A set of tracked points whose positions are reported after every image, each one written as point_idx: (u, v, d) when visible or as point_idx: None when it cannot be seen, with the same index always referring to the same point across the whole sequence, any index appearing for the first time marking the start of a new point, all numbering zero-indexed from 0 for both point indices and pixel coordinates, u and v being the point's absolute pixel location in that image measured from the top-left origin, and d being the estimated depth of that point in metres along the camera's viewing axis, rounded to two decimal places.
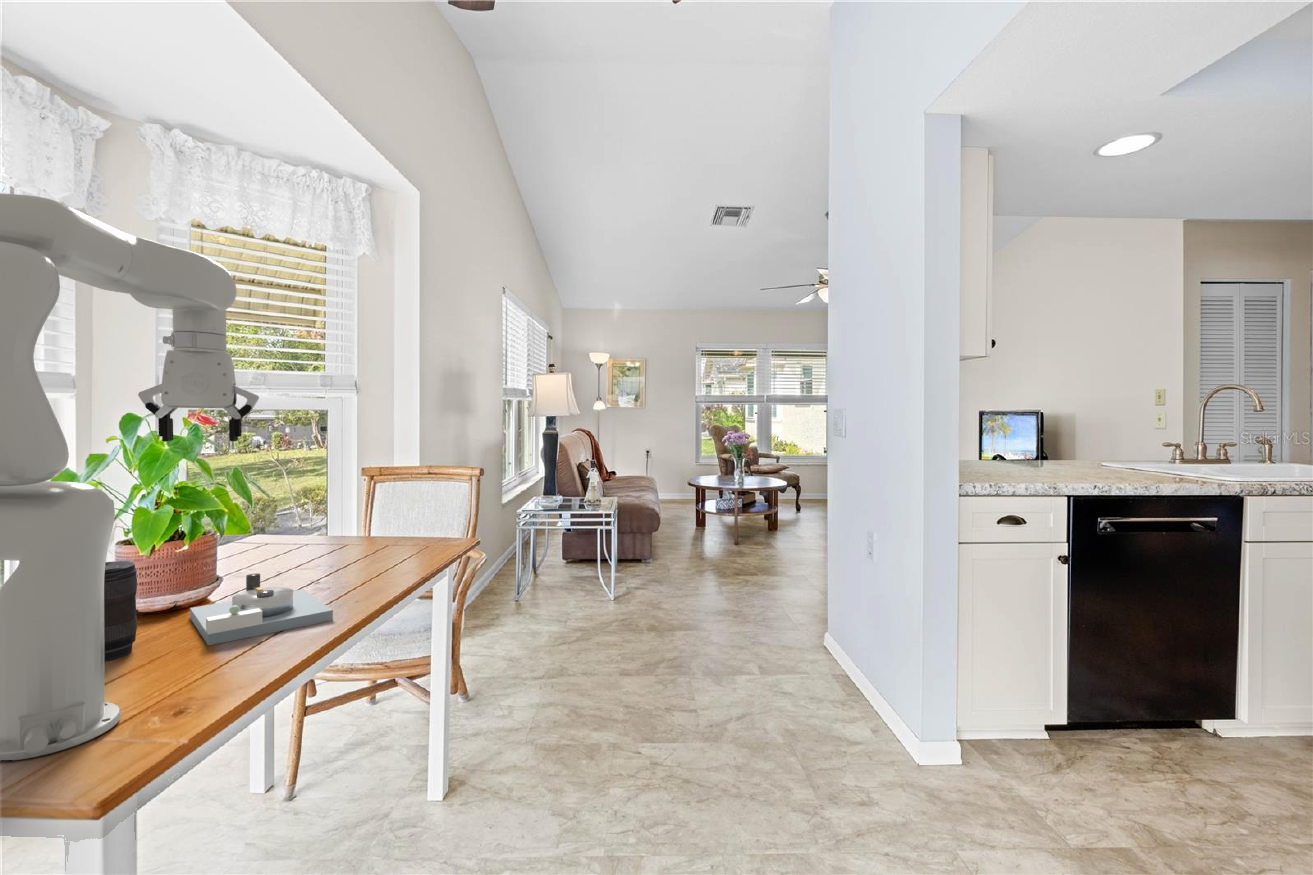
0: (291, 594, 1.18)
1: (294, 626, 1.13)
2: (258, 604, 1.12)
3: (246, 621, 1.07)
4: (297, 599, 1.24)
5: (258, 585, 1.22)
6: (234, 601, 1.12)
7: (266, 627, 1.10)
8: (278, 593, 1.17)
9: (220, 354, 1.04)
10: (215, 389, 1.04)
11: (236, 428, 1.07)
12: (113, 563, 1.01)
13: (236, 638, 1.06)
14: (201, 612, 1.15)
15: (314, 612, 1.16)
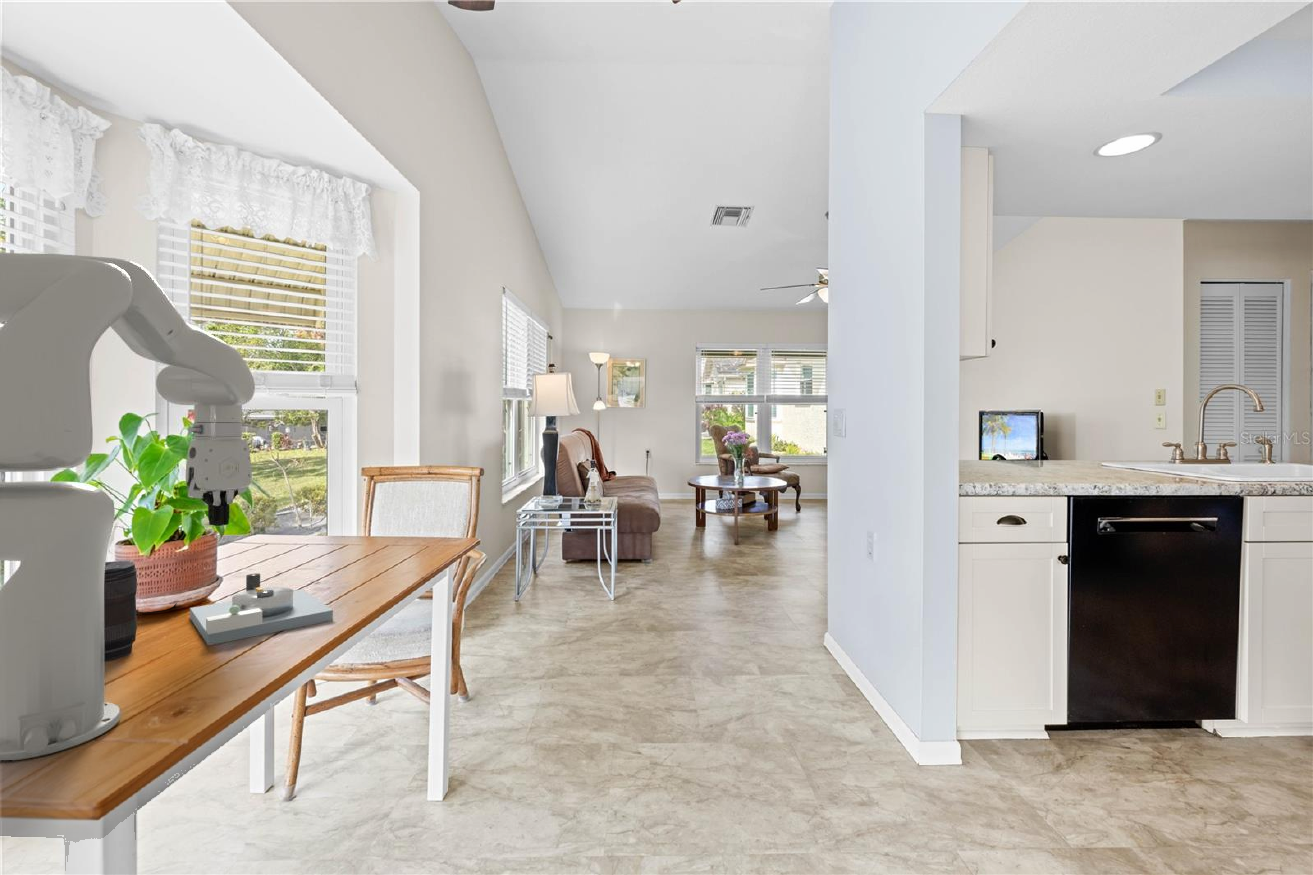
0: (291, 594, 1.18)
1: (294, 626, 1.13)
2: (258, 604, 1.12)
3: (246, 621, 1.07)
4: (297, 599, 1.24)
5: (258, 585, 1.22)
6: (234, 601, 1.12)
7: (266, 627, 1.10)
8: (278, 593, 1.17)
9: (244, 440, 1.18)
10: (242, 471, 1.18)
11: None
12: (113, 563, 1.01)
13: (236, 638, 1.06)
14: (201, 612, 1.15)
15: (314, 612, 1.16)
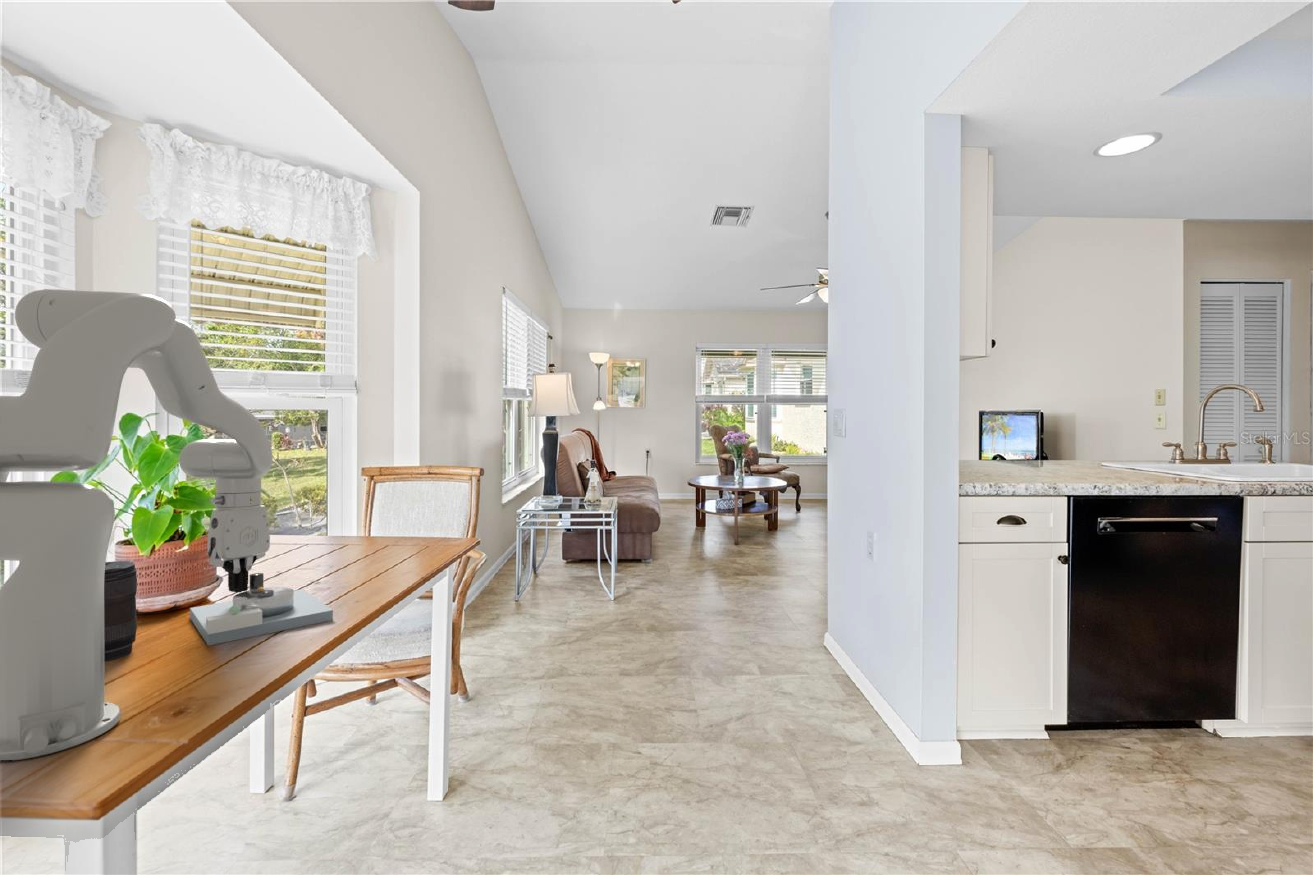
0: (291, 594, 1.17)
1: (294, 626, 1.13)
2: (257, 604, 1.12)
3: (246, 621, 1.07)
4: (297, 599, 1.24)
5: (261, 585, 1.23)
6: (234, 601, 1.13)
7: (266, 627, 1.10)
8: (278, 593, 1.17)
9: (263, 507, 1.22)
10: (261, 538, 1.22)
11: None
12: (113, 563, 1.01)
13: (236, 638, 1.06)
14: (201, 612, 1.15)
15: (314, 612, 1.16)
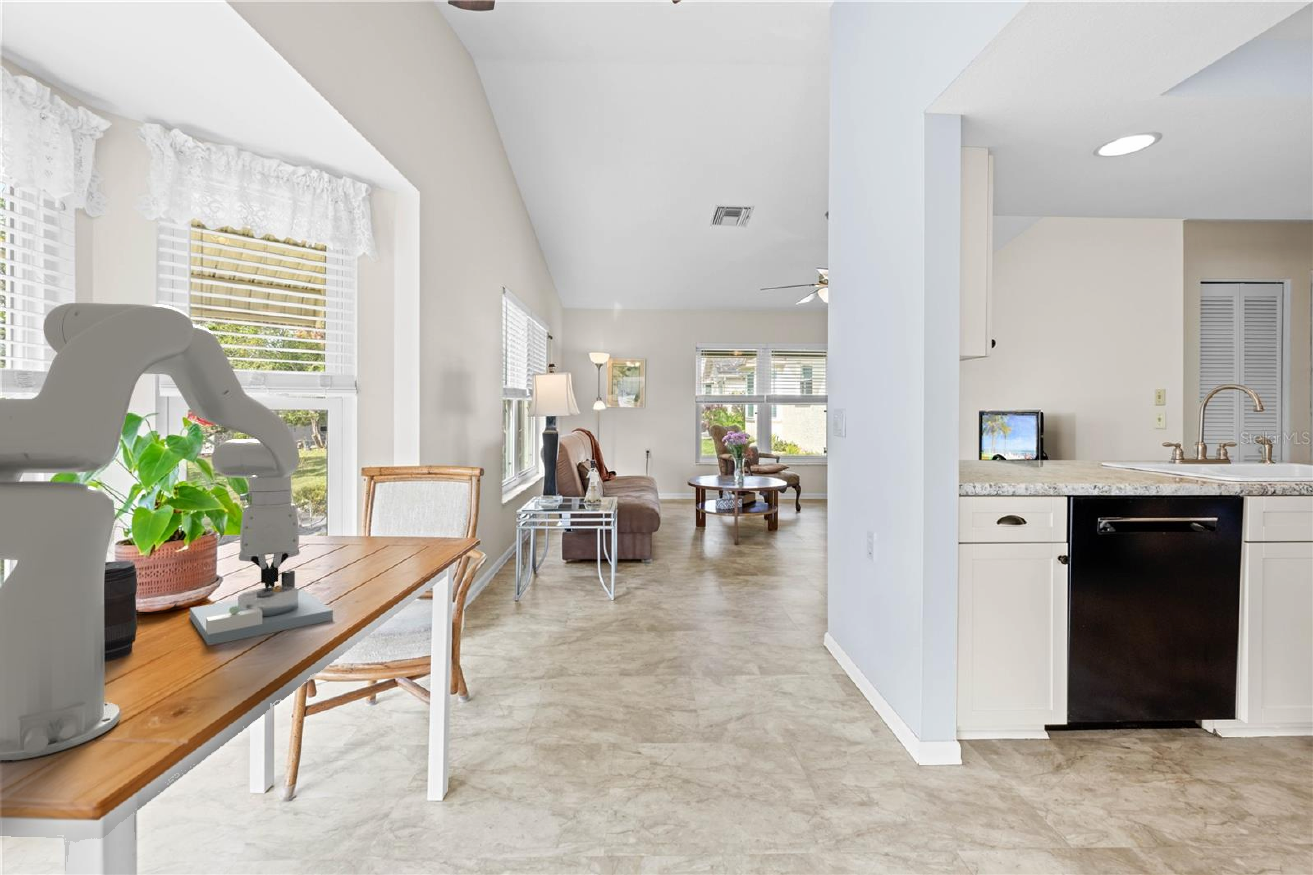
0: (286, 598, 1.15)
1: (294, 626, 1.13)
2: (247, 604, 1.12)
3: (246, 621, 1.07)
4: None
5: (289, 583, 1.25)
6: None
7: (266, 627, 1.10)
8: (277, 595, 1.16)
9: (290, 507, 1.24)
10: (286, 537, 1.23)
11: (275, 575, 1.24)
12: (113, 563, 1.01)
13: (236, 638, 1.06)
14: (201, 612, 1.15)
15: (314, 612, 1.16)
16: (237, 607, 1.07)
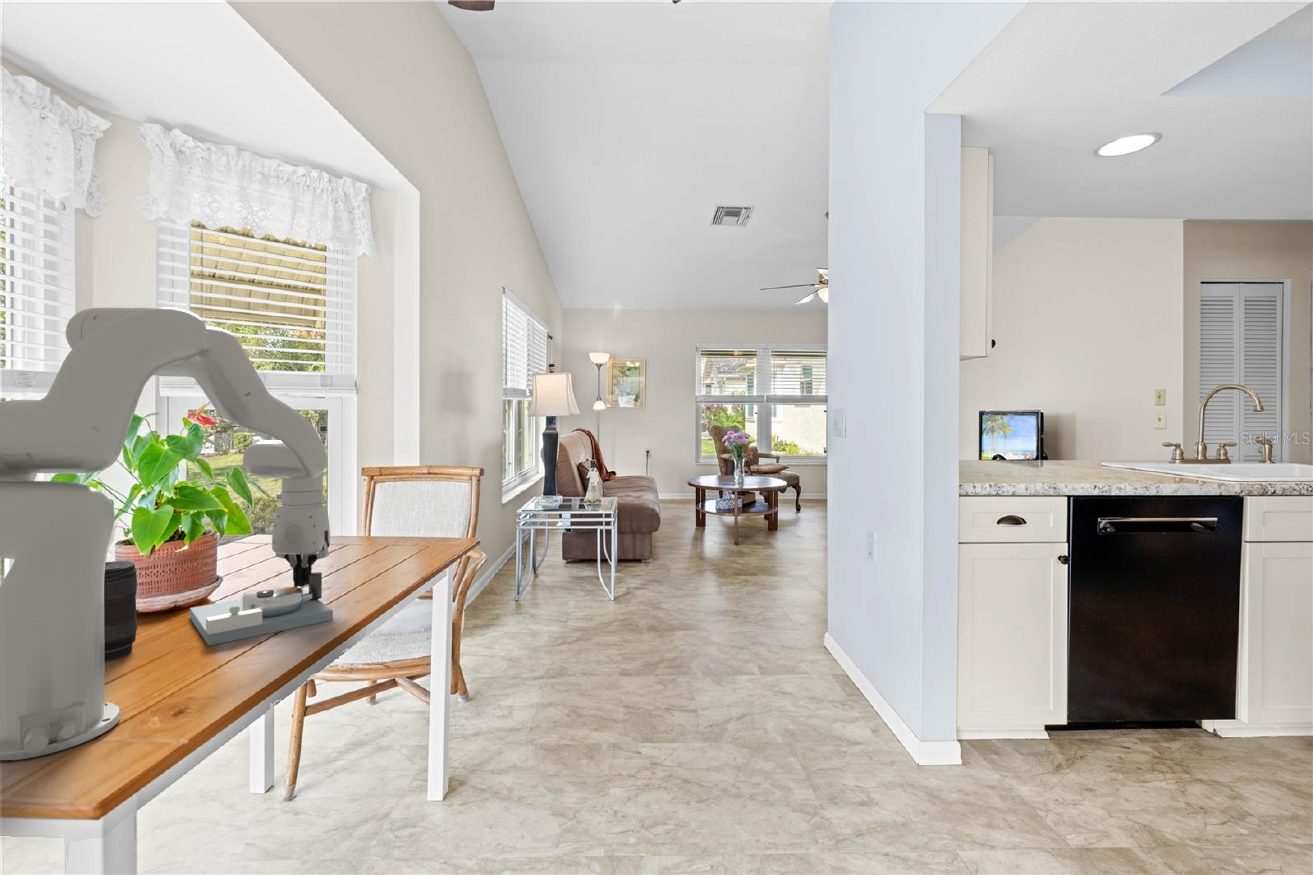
0: (271, 602, 1.12)
1: (294, 626, 1.13)
2: (242, 601, 1.13)
3: (246, 621, 1.07)
4: None
5: (313, 585, 1.23)
6: None
7: (266, 627, 1.10)
8: (272, 597, 1.14)
9: (312, 508, 1.23)
10: (307, 538, 1.22)
11: (304, 575, 1.24)
12: (113, 563, 1.01)
13: (236, 638, 1.06)
14: (201, 612, 1.15)
15: (314, 612, 1.16)
16: (237, 607, 1.07)
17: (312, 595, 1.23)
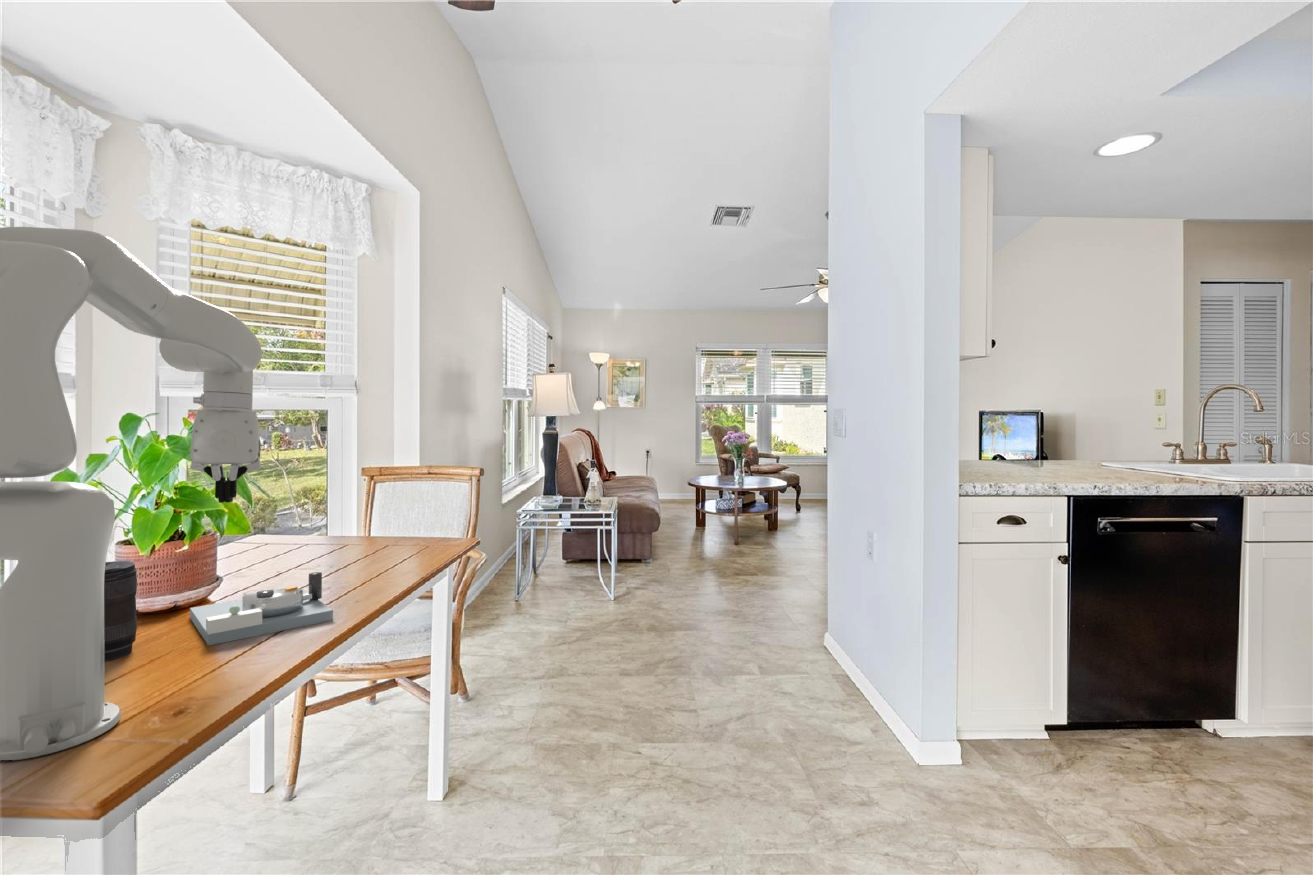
0: (271, 602, 1.12)
1: (294, 626, 1.13)
2: (242, 601, 1.13)
3: (246, 621, 1.07)
4: None
5: (313, 585, 1.23)
6: None
7: (266, 627, 1.10)
8: (272, 597, 1.14)
9: (247, 412, 1.10)
10: (241, 446, 1.09)
11: (231, 489, 1.10)
12: (113, 563, 1.01)
13: (236, 638, 1.06)
14: (201, 612, 1.15)
15: (314, 612, 1.16)
16: (237, 607, 1.07)
17: (312, 595, 1.23)
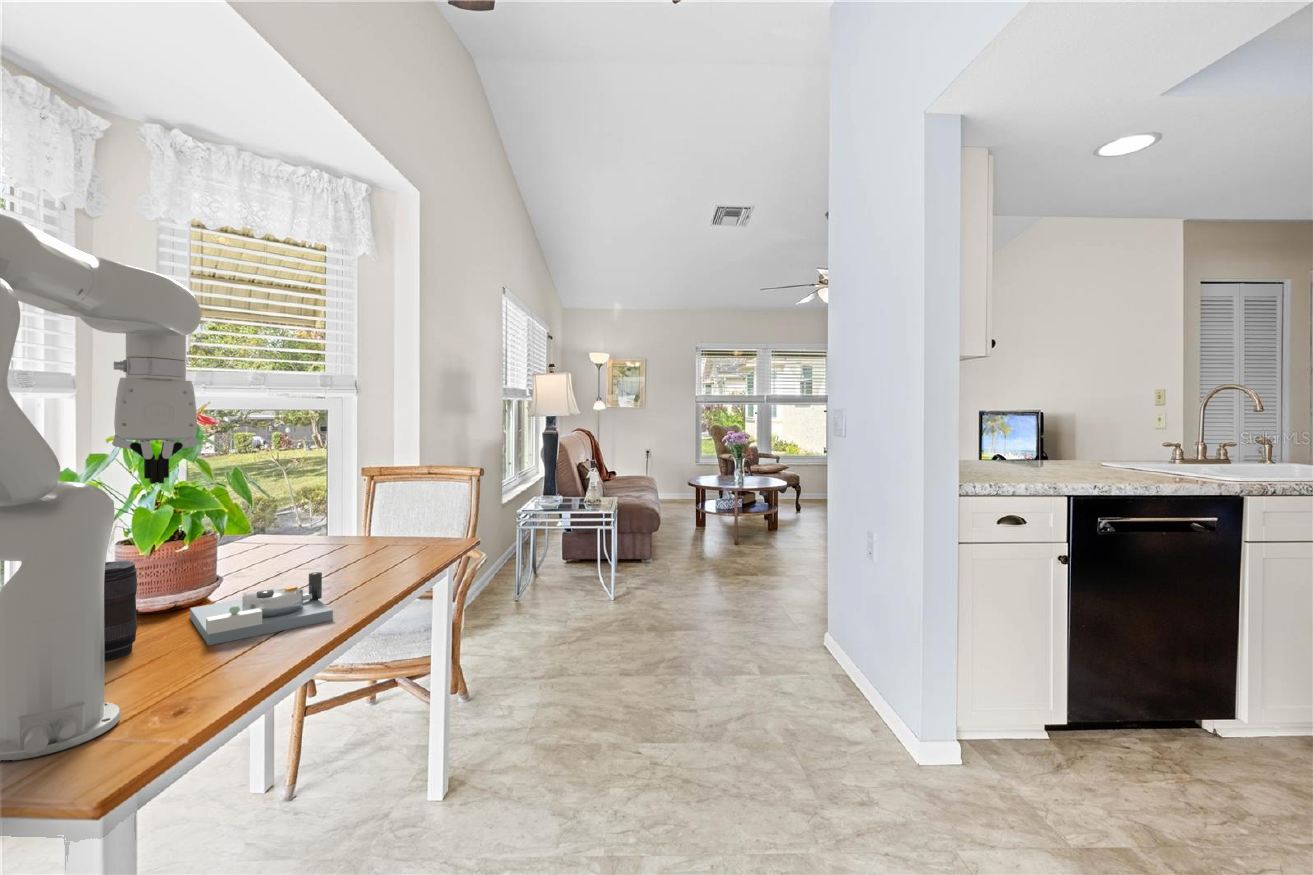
0: (271, 602, 1.12)
1: (294, 626, 1.13)
2: (242, 601, 1.13)
3: (246, 621, 1.07)
4: None
5: (313, 585, 1.23)
6: None
7: (266, 627, 1.10)
8: (272, 597, 1.14)
9: (185, 382, 0.98)
10: (180, 419, 0.97)
11: (165, 468, 0.97)
12: (113, 563, 1.01)
13: (236, 638, 1.06)
14: (201, 612, 1.15)
15: (314, 612, 1.16)
16: (237, 607, 1.07)
17: (312, 595, 1.23)
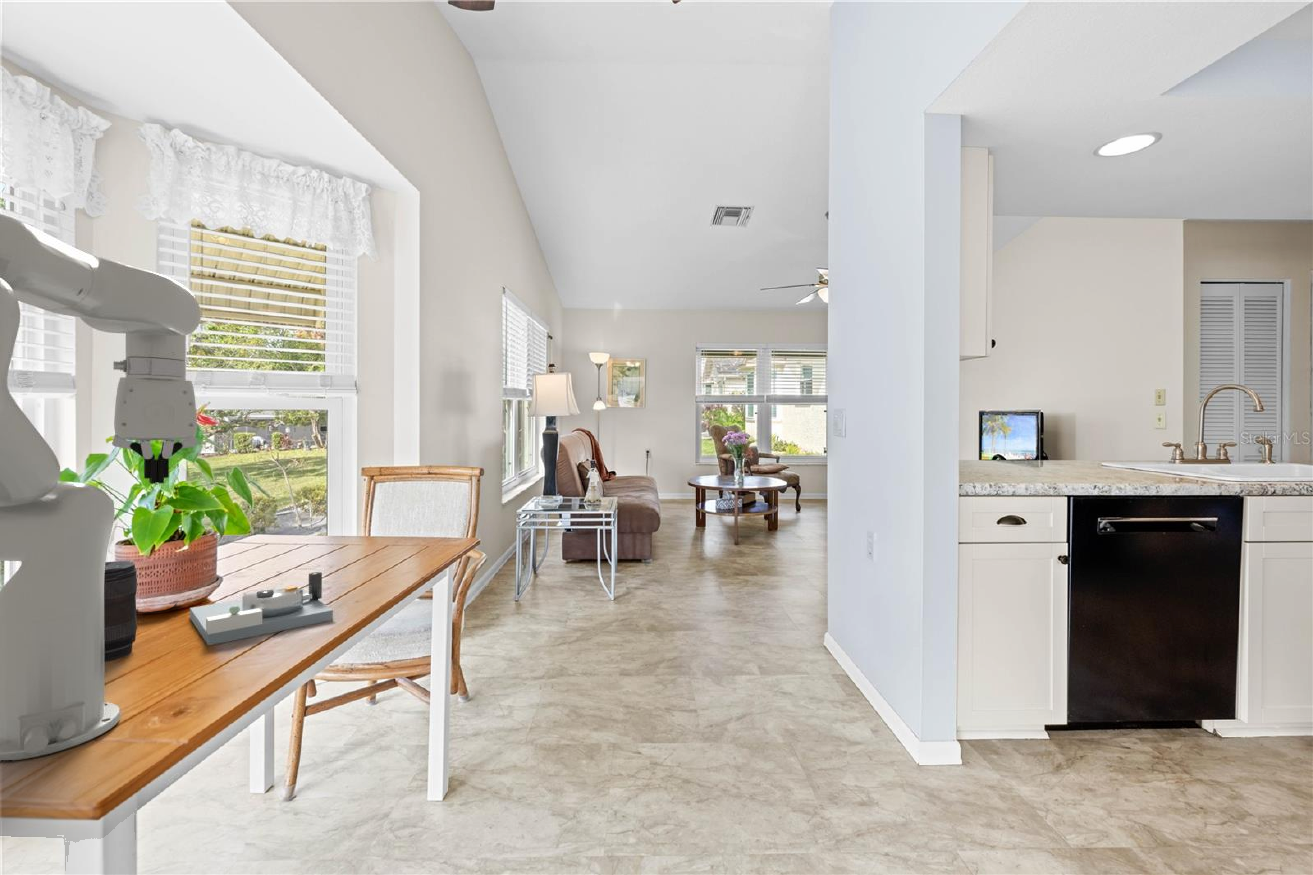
0: (271, 602, 1.12)
1: (294, 626, 1.13)
2: (242, 601, 1.13)
3: (246, 621, 1.07)
4: None
5: (313, 585, 1.23)
6: None
7: (266, 627, 1.10)
8: (272, 597, 1.14)
9: (185, 382, 0.98)
10: (180, 419, 0.97)
11: (165, 468, 0.97)
12: (113, 563, 1.01)
13: (236, 638, 1.06)
14: (201, 612, 1.15)
15: (314, 612, 1.16)
16: (237, 607, 1.07)
17: (312, 595, 1.23)
